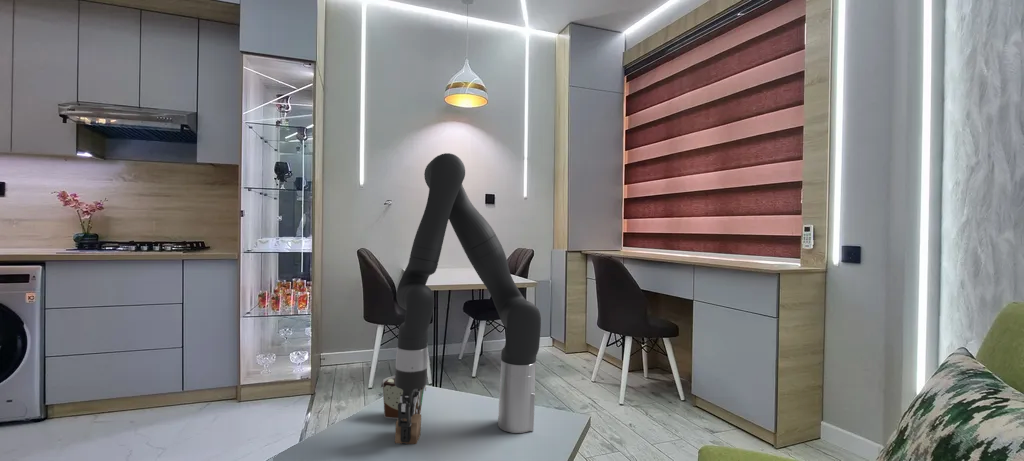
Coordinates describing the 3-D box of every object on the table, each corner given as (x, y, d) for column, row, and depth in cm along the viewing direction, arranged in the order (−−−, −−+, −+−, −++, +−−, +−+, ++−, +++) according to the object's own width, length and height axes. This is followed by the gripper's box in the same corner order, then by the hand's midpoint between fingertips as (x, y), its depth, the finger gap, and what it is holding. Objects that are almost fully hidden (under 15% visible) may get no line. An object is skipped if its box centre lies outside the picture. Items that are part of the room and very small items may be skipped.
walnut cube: (420, 434, 111) (421, 414, 111) (416, 444, 106) (417, 422, 106) (400, 433, 111) (401, 413, 111) (394, 443, 106) (396, 421, 106)
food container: (430, 412, 125) (432, 376, 125) (424, 421, 119) (425, 383, 119) (387, 408, 126) (389, 372, 126) (379, 417, 120) (380, 379, 120)
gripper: (421, 375, 101) (417, 451, 101) (432, 358, 116) (429, 424, 116) (387, 374, 101) (384, 449, 101) (403, 356, 116) (400, 423, 116)
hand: (408, 435), depth 108 cm, fingers closed on walnut cube, 5 cm apart
